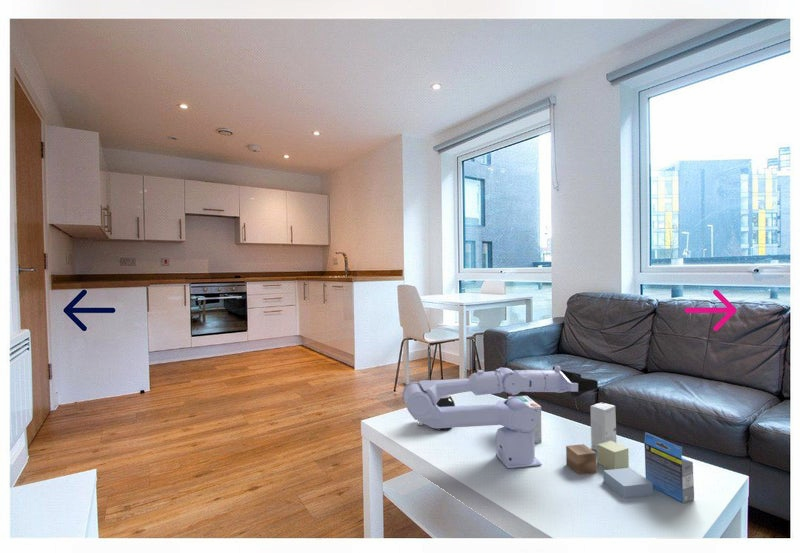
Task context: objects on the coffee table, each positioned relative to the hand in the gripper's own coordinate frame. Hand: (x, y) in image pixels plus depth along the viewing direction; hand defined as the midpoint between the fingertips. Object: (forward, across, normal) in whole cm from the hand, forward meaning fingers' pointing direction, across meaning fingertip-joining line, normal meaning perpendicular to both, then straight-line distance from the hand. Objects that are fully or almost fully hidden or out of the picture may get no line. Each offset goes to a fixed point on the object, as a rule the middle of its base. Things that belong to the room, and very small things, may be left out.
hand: (588, 381), depth 106 cm
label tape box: (+8, -18, +21) cm, 29 cm away
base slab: (0, -15, +21) cm, 26 cm away
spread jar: (-36, +27, +21) cm, 50 cm away
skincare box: (+7, +4, +20) cm, 22 cm away
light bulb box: (-11, +15, +20) cm, 28 cm away
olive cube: (+4, -5, +20) cm, 21 cm away
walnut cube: (-5, -6, +21) cm, 22 cm away
